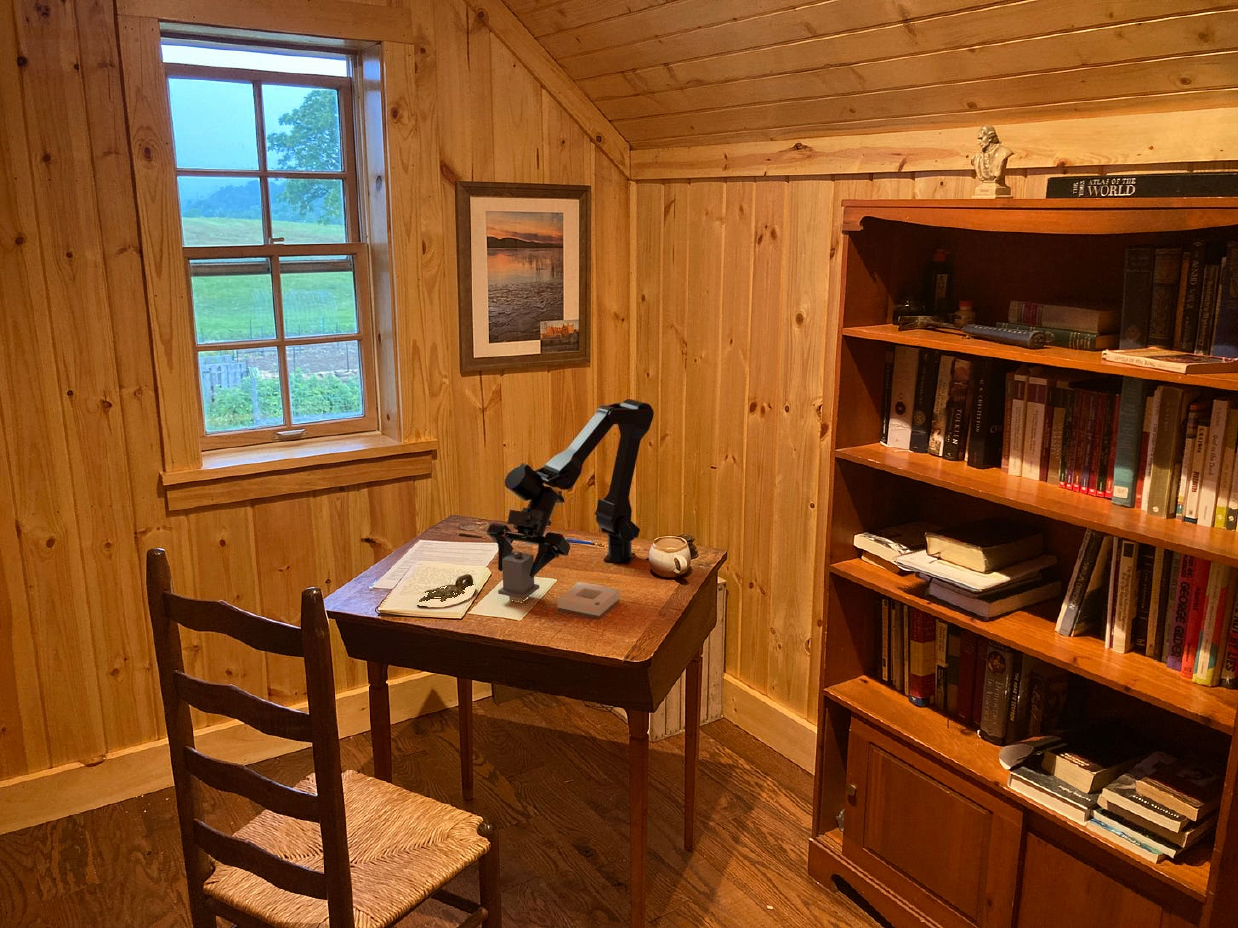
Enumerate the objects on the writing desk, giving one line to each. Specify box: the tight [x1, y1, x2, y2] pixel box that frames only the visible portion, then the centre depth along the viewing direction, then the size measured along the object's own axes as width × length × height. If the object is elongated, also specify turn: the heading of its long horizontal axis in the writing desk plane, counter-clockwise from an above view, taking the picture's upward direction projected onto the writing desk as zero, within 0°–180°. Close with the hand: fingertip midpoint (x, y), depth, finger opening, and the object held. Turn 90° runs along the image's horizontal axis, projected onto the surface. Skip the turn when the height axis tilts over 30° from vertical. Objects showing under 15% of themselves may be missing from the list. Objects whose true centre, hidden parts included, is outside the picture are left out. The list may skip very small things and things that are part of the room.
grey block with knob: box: [497, 551, 540, 603], centre depth 217 cm, size 7×7×11 cm
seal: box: [419, 573, 475, 602], centre depth 219 cm, size 9×5×15 cm
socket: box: [556, 581, 620, 620], centre depth 215 cm, size 10×10×3 cm
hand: (515, 573), depth 216 cm, fingers open, 8 cm apart
